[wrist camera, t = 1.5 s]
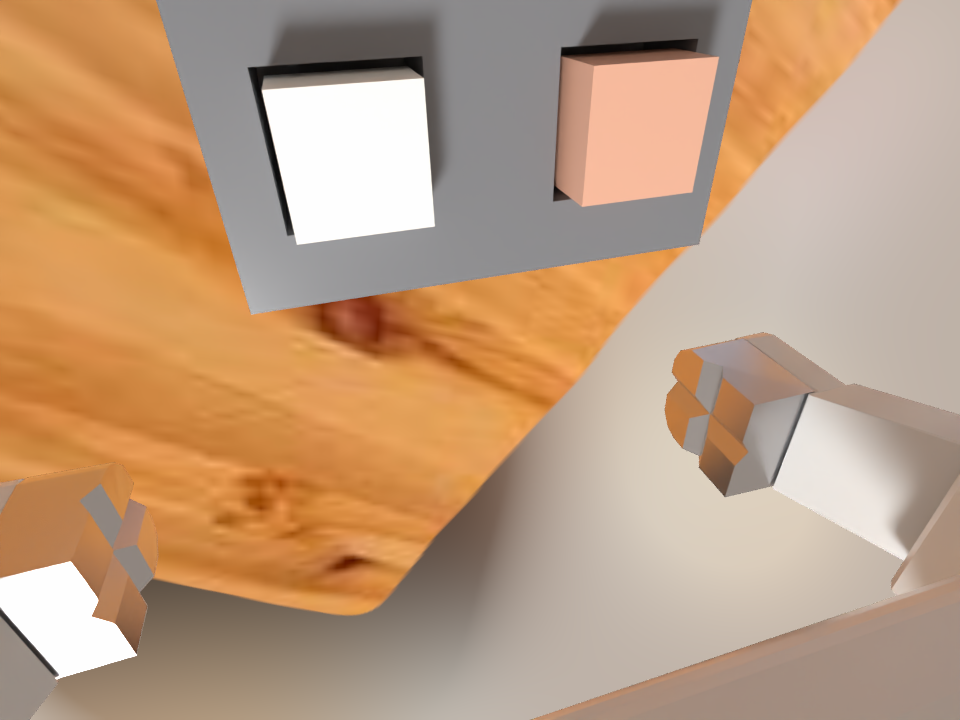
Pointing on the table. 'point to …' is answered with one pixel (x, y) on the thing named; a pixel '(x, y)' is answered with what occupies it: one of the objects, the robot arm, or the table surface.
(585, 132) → the terracotta key
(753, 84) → the table surface
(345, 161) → the white key
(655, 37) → the console
